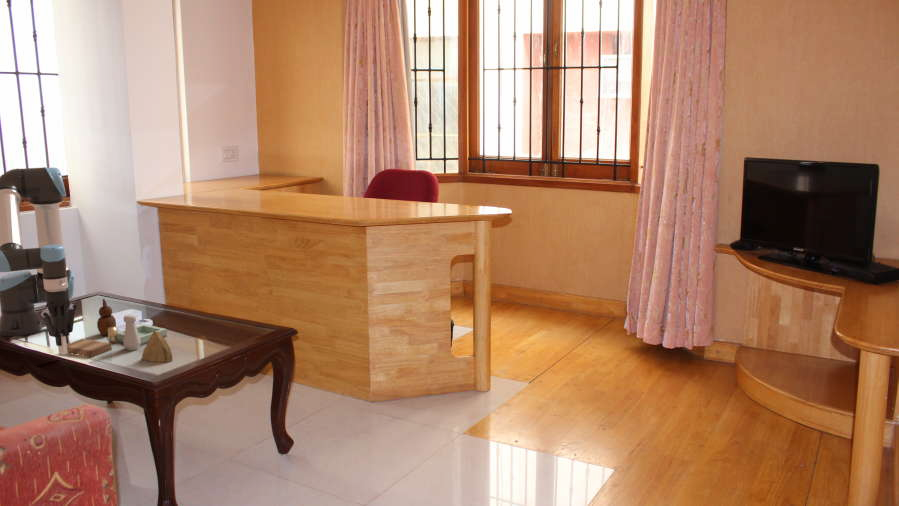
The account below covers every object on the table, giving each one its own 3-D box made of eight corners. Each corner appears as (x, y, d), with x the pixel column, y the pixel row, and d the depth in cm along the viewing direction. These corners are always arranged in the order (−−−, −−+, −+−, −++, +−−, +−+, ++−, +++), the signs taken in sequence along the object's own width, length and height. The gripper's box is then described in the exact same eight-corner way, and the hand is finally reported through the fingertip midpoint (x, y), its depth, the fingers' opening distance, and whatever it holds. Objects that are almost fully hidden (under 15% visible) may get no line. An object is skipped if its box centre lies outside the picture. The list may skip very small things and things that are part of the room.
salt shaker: (136, 345, 286) (133, 312, 283) (144, 348, 282) (141, 314, 280) (121, 349, 282) (118, 315, 279) (129, 352, 278) (126, 318, 275)
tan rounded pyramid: (181, 353, 270) (170, 343, 277) (166, 339, 265) (155, 328, 272) (157, 375, 267) (146, 364, 274) (141, 361, 261) (131, 350, 268)
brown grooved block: (63, 354, 277) (62, 346, 277) (82, 346, 286) (81, 339, 285) (93, 358, 273) (92, 350, 272) (111, 351, 281) (111, 343, 280)
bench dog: (107, 343, 288) (105, 328, 287) (114, 341, 290) (112, 326, 289) (112, 344, 286) (111, 329, 285) (119, 342, 289) (117, 327, 288)
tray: (116, 340, 291) (115, 333, 291) (144, 331, 302) (143, 324, 302) (139, 345, 285) (138, 338, 285) (167, 336, 296) (166, 329, 296)
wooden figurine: (108, 337, 295) (105, 300, 292) (95, 336, 296) (92, 299, 293) (119, 332, 301) (116, 295, 298) (106, 331, 303) (103, 294, 300)
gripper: (45, 294, 258) (52, 360, 263) (80, 286, 269) (86, 350, 274) (32, 291, 262) (39, 357, 266) (66, 284, 273) (73, 346, 278)
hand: (63, 353), depth 270 cm, fingers closed
